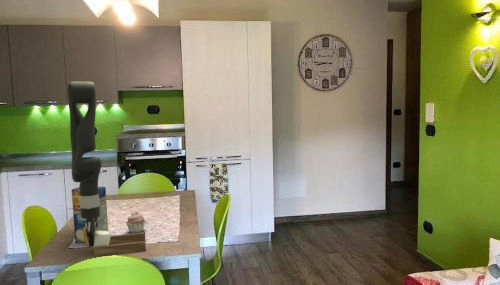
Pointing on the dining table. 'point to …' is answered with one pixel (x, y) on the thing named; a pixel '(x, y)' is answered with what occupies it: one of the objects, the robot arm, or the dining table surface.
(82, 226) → the juice carton
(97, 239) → the white tapered cylinder
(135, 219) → the cupcake
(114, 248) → the walnut channel
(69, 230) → the dining table surface
